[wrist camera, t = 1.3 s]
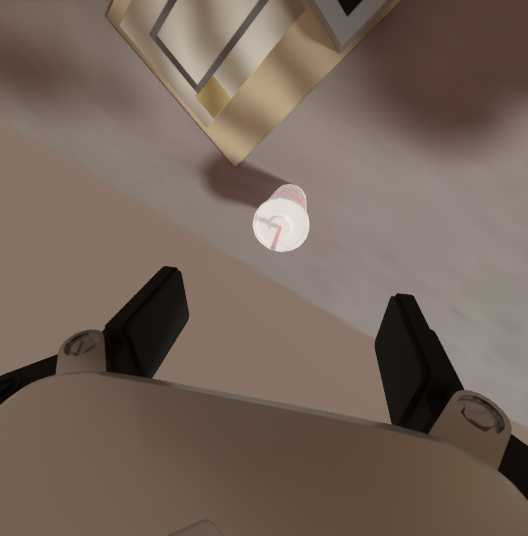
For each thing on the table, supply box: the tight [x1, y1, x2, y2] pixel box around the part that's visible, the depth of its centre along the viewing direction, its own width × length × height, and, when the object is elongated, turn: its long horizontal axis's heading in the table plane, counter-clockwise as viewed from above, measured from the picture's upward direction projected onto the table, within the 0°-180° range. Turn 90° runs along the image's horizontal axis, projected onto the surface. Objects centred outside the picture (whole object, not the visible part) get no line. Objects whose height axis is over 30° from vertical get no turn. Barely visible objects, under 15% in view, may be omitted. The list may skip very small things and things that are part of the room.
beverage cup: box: [253, 184, 309, 252], centre depth 29 cm, size 6×6×14 cm
